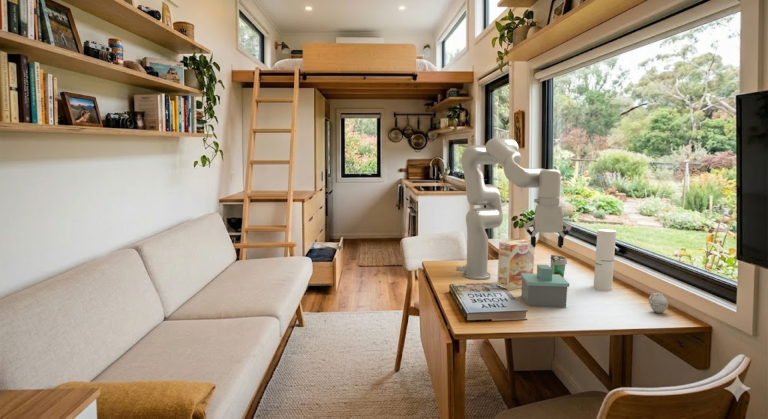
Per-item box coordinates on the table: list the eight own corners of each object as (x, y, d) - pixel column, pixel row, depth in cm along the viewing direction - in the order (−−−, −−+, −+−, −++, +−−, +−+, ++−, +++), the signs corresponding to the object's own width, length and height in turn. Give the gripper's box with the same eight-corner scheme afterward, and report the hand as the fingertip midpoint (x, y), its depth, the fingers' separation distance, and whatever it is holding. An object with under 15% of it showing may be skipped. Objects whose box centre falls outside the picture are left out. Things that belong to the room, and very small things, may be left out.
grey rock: (659, 309, 172) (661, 290, 171) (672, 315, 165) (673, 296, 164) (643, 309, 172) (645, 290, 171) (655, 315, 165) (657, 296, 164)
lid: (527, 287, 172) (528, 270, 172) (520, 278, 185) (521, 262, 184) (568, 289, 171) (570, 271, 170) (559, 279, 184) (560, 263, 183)
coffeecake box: (509, 290, 192) (511, 244, 190) (496, 286, 198) (498, 241, 196) (533, 285, 200) (535, 241, 198) (520, 281, 206) (522, 238, 204)
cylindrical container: (610, 291, 193) (615, 232, 190) (592, 288, 197) (596, 230, 194) (612, 287, 199) (617, 230, 196) (594, 284, 203) (598, 228, 200)
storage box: (527, 305, 174) (528, 284, 173) (521, 295, 186) (522, 276, 185) (566, 307, 172) (567, 286, 171) (557, 297, 184) (558, 277, 183)
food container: (568, 283, 204) (569, 261, 203) (553, 282, 206) (555, 260, 204) (563, 276, 216) (564, 255, 215) (549, 275, 218) (550, 254, 216)
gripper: (527, 202, 171) (525, 248, 173) (575, 203, 170) (573, 249, 171) (523, 200, 179) (521, 244, 180) (569, 201, 177) (567, 245, 179)
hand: (546, 246), depth 176 cm, fingers open, 9 cm apart
